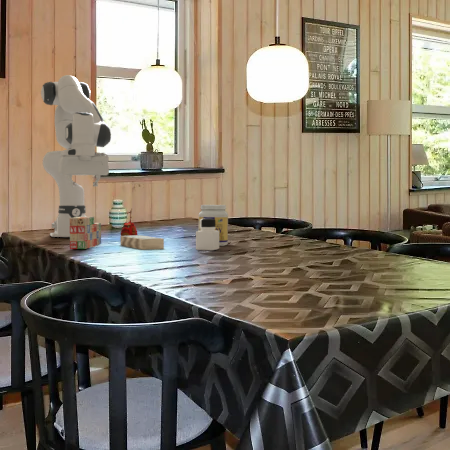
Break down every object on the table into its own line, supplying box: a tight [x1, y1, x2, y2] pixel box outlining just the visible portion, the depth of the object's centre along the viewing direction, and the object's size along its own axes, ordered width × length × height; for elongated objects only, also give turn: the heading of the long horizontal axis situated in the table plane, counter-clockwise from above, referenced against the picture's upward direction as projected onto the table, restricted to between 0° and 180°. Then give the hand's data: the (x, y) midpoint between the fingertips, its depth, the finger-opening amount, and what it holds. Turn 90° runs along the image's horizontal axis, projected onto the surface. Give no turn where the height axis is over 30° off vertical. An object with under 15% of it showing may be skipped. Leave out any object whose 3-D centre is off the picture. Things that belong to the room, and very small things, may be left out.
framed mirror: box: [120, 234, 165, 251], centre depth 262 cm, size 23×9×4 cm, turn 30°
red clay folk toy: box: [120, 208, 138, 237], centre depth 284 cm, size 8×7×15 cm
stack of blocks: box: [69, 216, 102, 250], centre depth 265 cm, size 21×6×12 cm, turn 174°
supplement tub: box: [198, 204, 229, 247], centre depth 268 cm, size 12×12×17 cm
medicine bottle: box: [195, 218, 220, 251], centre depth 251 cm, size 7×7×12 cm
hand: (84, 186), depth 264 cm, fingers open, 8 cm apart
